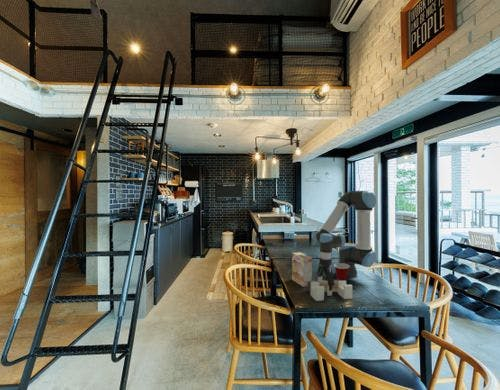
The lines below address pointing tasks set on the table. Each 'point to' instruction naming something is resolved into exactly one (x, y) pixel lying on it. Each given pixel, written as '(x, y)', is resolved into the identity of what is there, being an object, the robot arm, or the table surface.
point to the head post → (317, 291)
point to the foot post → (344, 290)
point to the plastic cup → (341, 271)
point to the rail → (325, 284)
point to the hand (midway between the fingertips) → (324, 290)
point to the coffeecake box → (301, 268)
